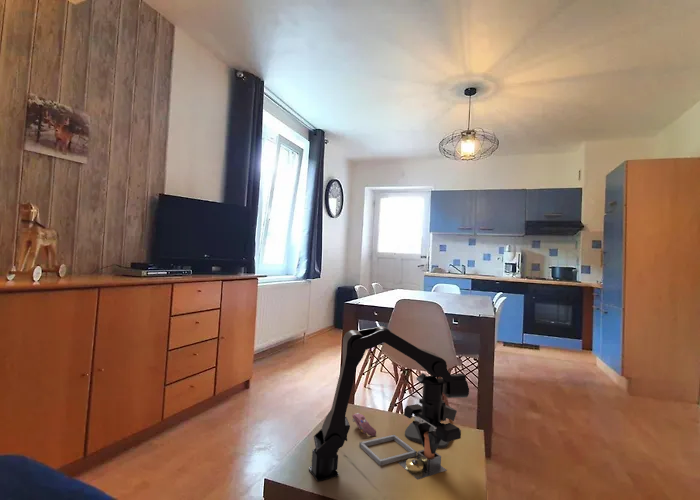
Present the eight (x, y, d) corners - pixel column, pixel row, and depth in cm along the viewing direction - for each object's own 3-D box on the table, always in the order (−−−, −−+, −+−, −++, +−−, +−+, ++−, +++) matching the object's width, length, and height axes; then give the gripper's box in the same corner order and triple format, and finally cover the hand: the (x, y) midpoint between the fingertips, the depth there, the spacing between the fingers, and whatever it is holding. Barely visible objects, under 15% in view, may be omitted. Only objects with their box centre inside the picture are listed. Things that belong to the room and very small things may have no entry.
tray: (379, 469, 105) (380, 461, 105) (359, 449, 115) (359, 442, 115) (416, 458, 112) (416, 451, 112) (393, 441, 122) (394, 434, 122)
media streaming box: (401, 441, 123) (401, 432, 123) (414, 425, 135) (415, 417, 136) (444, 455, 116) (445, 445, 116) (454, 436, 129) (454, 427, 129)
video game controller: (355, 429, 132) (348, 412, 131) (365, 422, 134) (359, 406, 133) (367, 442, 123) (359, 425, 122) (378, 434, 125) (371, 417, 124)
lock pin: (428, 468, 105) (429, 438, 105) (419, 462, 108) (421, 432, 108) (437, 466, 107) (439, 435, 107) (429, 459, 110) (430, 430, 110)
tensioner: (417, 483, 99) (418, 468, 100) (397, 465, 107) (398, 452, 107) (446, 473, 105) (447, 459, 105) (425, 457, 113) (426, 444, 113)
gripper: (476, 405, 104) (473, 460, 103) (431, 383, 120) (428, 431, 119) (447, 411, 98) (444, 470, 98) (404, 387, 114) (401, 438, 114)
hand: (429, 450), depth 107 cm, fingers closed on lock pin, 3 cm apart
